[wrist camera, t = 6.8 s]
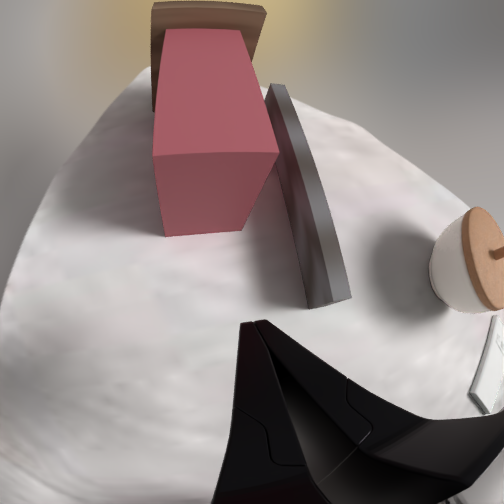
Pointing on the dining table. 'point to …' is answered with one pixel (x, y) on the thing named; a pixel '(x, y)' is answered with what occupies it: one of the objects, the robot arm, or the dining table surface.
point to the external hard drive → (490, 368)
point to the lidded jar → (469, 264)
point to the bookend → (288, 140)
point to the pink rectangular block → (209, 133)
